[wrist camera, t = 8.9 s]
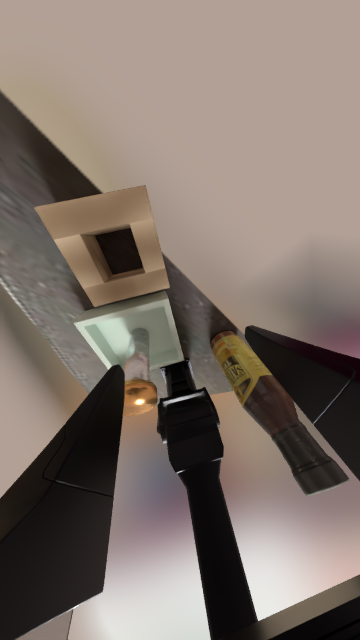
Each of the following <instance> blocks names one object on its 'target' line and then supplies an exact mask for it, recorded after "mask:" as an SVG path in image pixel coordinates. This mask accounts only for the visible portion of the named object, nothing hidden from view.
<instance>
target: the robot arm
mask: <svg viewBox="0 0 360 640" xmlns="http://www.w3.org/2000/svg"><path fill="white" fill-rule="evenodd" d="M245 338H246V340H247V342H248V343H249V345H250V346H251V348H252V349H253V351H254V352H255V354H256V355H257V357H258V358H259V359H260V360H261V362H262V363H263V364H264V365H265V366H266V368H267V369H268V370H269V371H270V373H271V374H272V375H273V376H274V377H275V379H276V380H277V381H278V382H279V383H280V385H281V386H282V387H283V388H284V390H285V391H286V392H287V393H288V394H289V396H290V397H291V398H292V399H293V401H294V402H295V403H296V404H297V405H298V407H299V408H300V409H301V410H302V411H303V412H304V414H305V415H306V416H307V418H308V419H309V420H310V421H311V422H312V424H314V426H315V427H316V429H317V430H318V431H319V432H320V434H321V435H322V436H323V437H324V438H325V440H326V441H327V442H328V443H329V444H330V446H331V447H332V448H333V449H334V450H335V452H336V453H337V454H338V455H339V457H340V458H341V459H342V460H343V461H344V463H345V464H346V465H347V466H348V468H349V469H350V470H351V471H352V472H353V474H354V475H355V476H356V477H357V478H358V480H359V481H360V359H358V358H355V357H351V356H348V355H344V354H341V353H337V352H334V351H330V350H327V349H324V348H321V347H318V346H314V345H311V344H308V343H305V342H302V341H299V340H296V339H292V338H290V337H287V336H284V335H280V334H277V333H274V332H271V331H268V330H265V329H261V328H258V327H255V326H247V327H246V329H245ZM160 370H161V373H162V375H163V377H164V380H165V382H166V386H167V394H168V397H166V398H160V403H159V404H158V422H157V432H158V433H159V434H160V435H161V438H162V441H163V444H165V443H167V447H168V455H169V461H170V462H171V465H172V467H173V469H174V471H175V472H176V473H177V474H178V475H179V477H180V479H181V480H182V482H183V484H184V485H185V487H186V489H187V494H188V500H189V507H190V512H191V519H192V525H193V531H194V538H195V544H196V550H197V556H198V563H199V569H200V574H201V581H202V588H203V594H204V600H205V606H206V612H207V618H208V625H209V631H210V637H211V640H360V575H358V576H356V577H353V578H351V579H349V580H347V581H345V582H343V583H341V584H338V585H336V586H334V587H332V588H330V589H328V590H325V591H323V592H321V593H319V594H317V595H314V596H313V597H310V598H308V599H306V600H304V601H302V602H299V603H297V604H295V605H293V606H291V607H288V608H286V609H284V610H282V611H280V612H278V613H276V614H273V615H271V616H269V617H267V618H265V619H263V620H260V621H258V620H257V616H256V612H255V609H254V605H253V601H252V598H251V594H250V590H249V586H248V583H247V579H246V576H245V572H244V568H243V564H242V561H241V557H240V553H239V549H238V546H237V542H236V538H235V535H234V531H233V527H232V524H231V520H230V517H229V513H228V509H227V506H226V502H225V498H224V494H223V490H222V487H221V483H220V479H219V474H220V463H221V458H223V450H224V446H223V443H222V440H221V437H220V433H219V430H218V428H219V427H220V422H219V417H218V414H217V411H216V408H215V406H214V404H213V402H212V400H211V398H210V396H209V394H208V392H207V390H206V388H205V387H204V388H202V389H198V390H197V389H196V386H195V383H194V380H193V378H194V376H193V372H192V367H191V363H190V360H189V359H186V360H183V361H180V362H177V363H173V364H170V365H167V366H163V367H161V368H160ZM124 400H125V373H124V371H123V369H122V368H121V366H120V365H119V364H116V365H113V366H111V368H110V369H109V370H108V371H107V373H106V374H105V375H104V376H103V377H102V379H101V380H100V381H99V382H98V384H97V385H96V386H95V387H94V389H93V390H92V391H91V392H90V394H89V395H88V396H87V397H86V398H85V400H84V401H83V402H82V403H81V405H80V406H79V407H78V408H77V410H76V411H75V412H74V413H73V415H72V416H71V417H70V418H69V419H68V421H67V422H66V424H65V425H64V426H63V427H62V428H61V429H60V431H59V432H58V433H57V434H56V435H55V437H54V438H53V439H52V440H51V441H50V443H49V444H48V445H47V446H46V447H45V449H44V450H43V451H42V452H41V453H40V454H39V455H38V457H37V458H36V459H35V460H34V461H33V462H32V463H31V465H30V466H29V467H28V468H27V469H26V470H25V471H24V472H23V473H22V475H21V476H20V477H19V478H18V479H17V480H16V481H15V482H14V484H13V485H12V486H11V487H10V488H9V489H8V490H7V491H6V493H5V494H4V495H3V496H2V497H1V498H0V640H68V639H67V638H68V633H69V628H70V624H71V619H72V614H73V609H74V608H75V607H77V606H79V605H80V604H83V603H84V602H86V601H88V600H90V599H92V598H94V597H96V596H97V595H99V594H101V593H102V592H103V587H104V579H105V570H106V562H107V553H108V544H109V534H110V526H111V517H112V508H113V499H114V497H113V496H114V489H115V480H116V471H117V461H118V454H119V445H120V436H121V427H122V418H123V409H124Z"/></svg>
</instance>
